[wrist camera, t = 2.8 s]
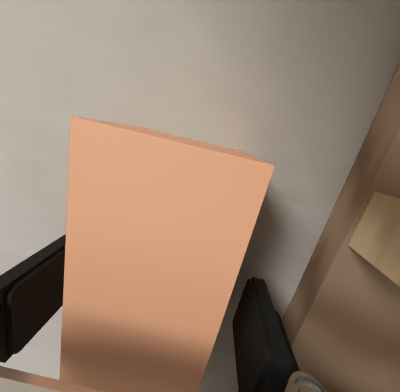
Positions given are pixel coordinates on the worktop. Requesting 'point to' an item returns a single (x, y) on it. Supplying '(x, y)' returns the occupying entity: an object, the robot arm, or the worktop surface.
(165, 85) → the worktop surface
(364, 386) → the cradle
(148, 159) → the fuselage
